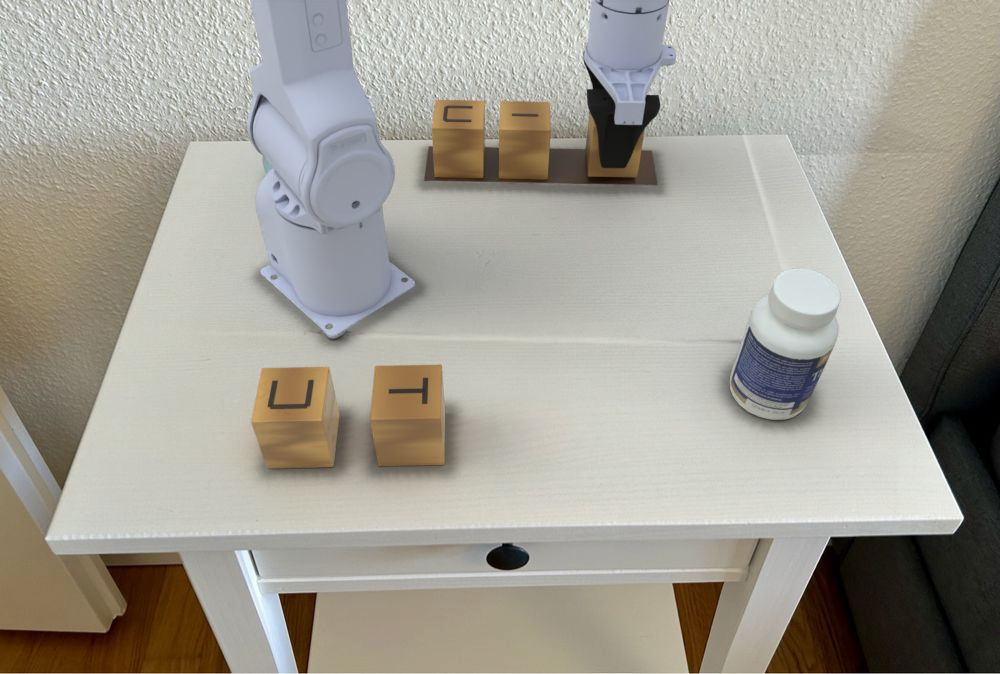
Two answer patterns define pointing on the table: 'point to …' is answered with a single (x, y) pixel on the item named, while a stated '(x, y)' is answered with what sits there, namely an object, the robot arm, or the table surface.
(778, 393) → the pill bottle
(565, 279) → the table surface
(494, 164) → the word board
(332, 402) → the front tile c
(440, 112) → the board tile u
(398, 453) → the tile
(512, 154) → the board tile
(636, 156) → the wooden letter cube
